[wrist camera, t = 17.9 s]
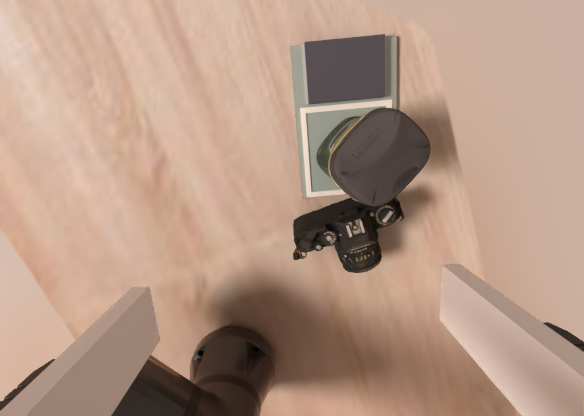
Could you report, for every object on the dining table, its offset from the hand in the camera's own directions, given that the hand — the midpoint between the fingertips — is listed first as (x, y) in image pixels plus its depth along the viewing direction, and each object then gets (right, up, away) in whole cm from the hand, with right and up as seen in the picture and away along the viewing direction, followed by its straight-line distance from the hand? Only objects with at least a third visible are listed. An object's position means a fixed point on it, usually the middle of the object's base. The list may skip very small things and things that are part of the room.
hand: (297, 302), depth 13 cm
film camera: (+9, +1, +35) cm, 36 cm away
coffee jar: (+8, +13, +31) cm, 35 cm away
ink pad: (+7, +24, +29) cm, 38 cm away
